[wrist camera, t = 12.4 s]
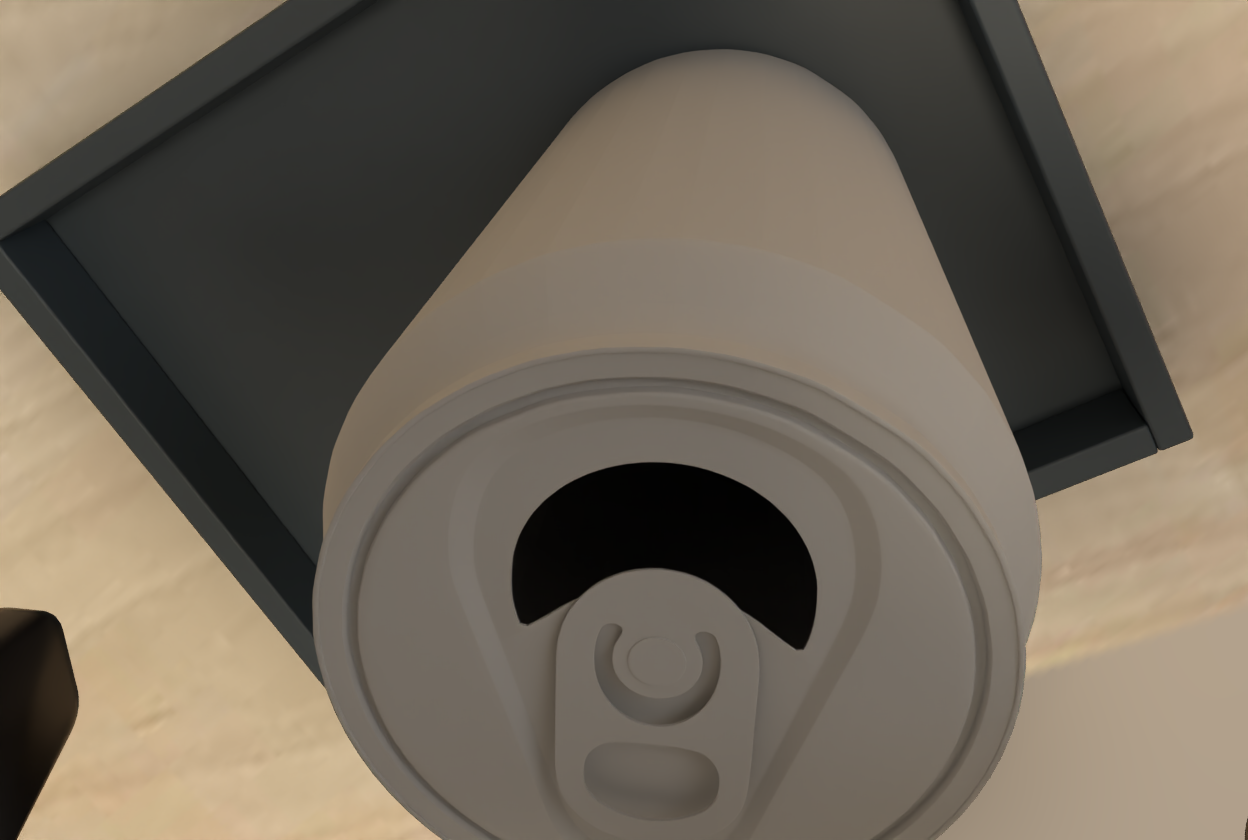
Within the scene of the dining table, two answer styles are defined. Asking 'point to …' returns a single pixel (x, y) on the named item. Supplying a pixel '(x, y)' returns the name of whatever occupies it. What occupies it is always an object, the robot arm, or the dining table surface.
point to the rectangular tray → (473, 194)
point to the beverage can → (684, 495)
